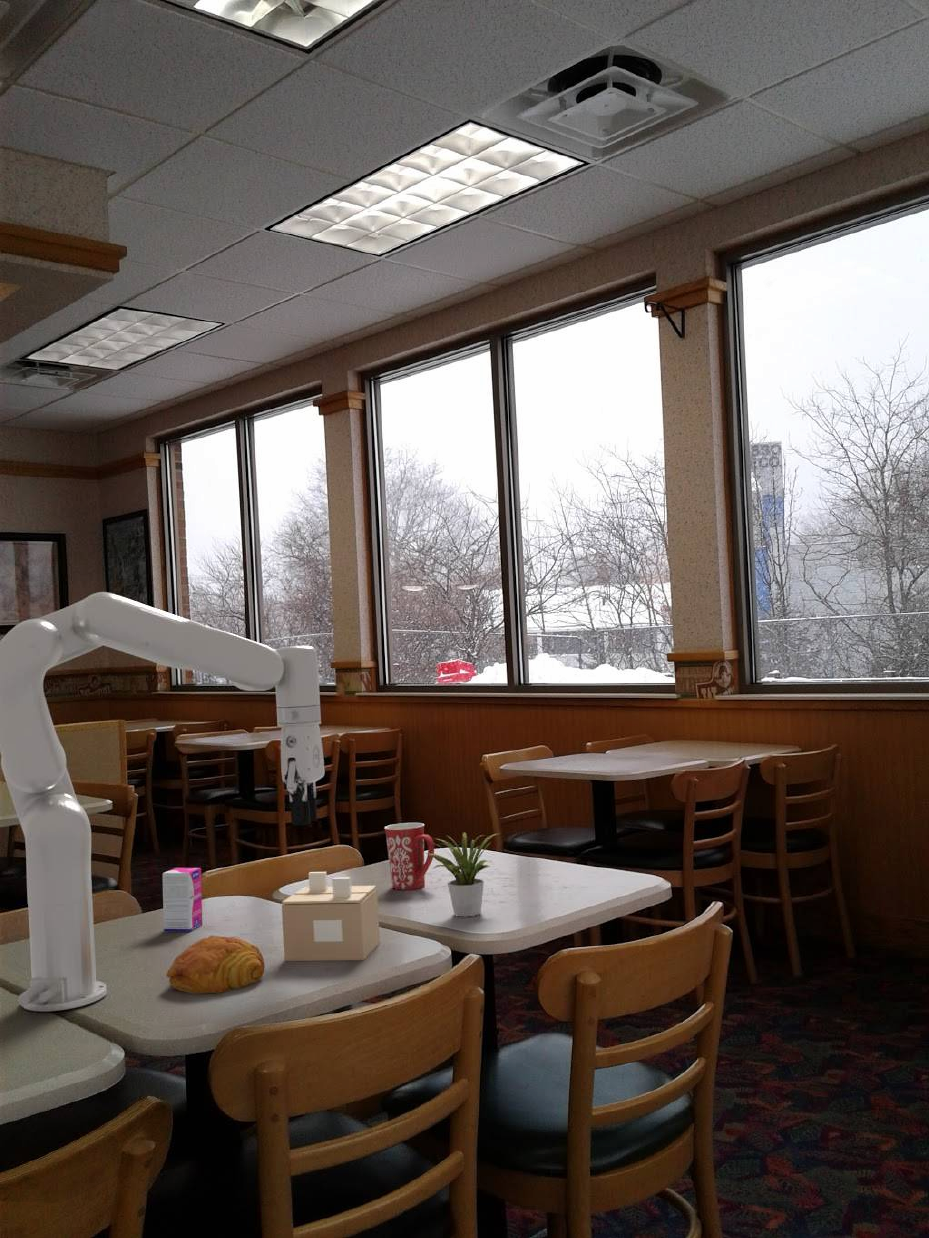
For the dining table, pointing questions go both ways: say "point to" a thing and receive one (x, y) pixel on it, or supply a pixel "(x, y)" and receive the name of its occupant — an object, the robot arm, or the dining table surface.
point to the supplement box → (182, 899)
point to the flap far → (320, 887)
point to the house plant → (465, 877)
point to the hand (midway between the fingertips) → (304, 821)
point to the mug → (408, 854)
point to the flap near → (339, 894)
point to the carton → (331, 930)
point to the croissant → (216, 966)
